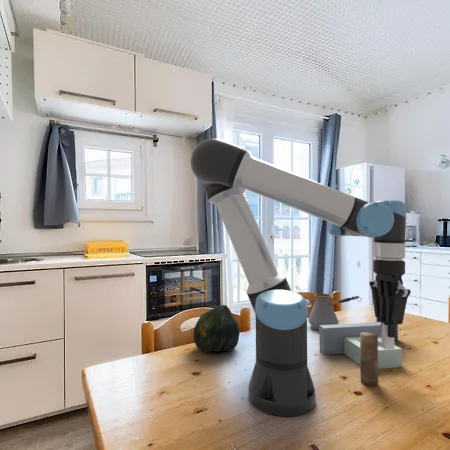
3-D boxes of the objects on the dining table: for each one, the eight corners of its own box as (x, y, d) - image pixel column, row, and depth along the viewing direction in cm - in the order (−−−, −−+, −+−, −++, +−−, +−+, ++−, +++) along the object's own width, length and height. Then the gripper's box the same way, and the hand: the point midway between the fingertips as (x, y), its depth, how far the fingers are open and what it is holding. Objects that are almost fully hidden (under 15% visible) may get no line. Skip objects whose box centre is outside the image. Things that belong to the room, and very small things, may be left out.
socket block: (365, 369, 84) (365, 351, 84) (344, 353, 95) (344, 337, 95) (402, 366, 85) (401, 348, 85) (376, 351, 96) (376, 335, 96)
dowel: (366, 387, 74) (366, 337, 74) (357, 379, 78) (356, 332, 78) (381, 386, 75) (381, 337, 75) (371, 378, 79) (371, 331, 79)
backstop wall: (324, 354, 94) (323, 328, 94) (319, 350, 97) (319, 325, 97) (394, 349, 98) (394, 324, 98) (388, 346, 101) (387, 321, 101)
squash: (181, 329, 102) (199, 300, 95) (215, 322, 111) (235, 295, 104) (198, 369, 93) (220, 340, 86) (234, 357, 103) (257, 331, 96)
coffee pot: (301, 326, 121) (301, 289, 121) (320, 321, 128) (319, 285, 128) (351, 342, 104) (351, 298, 104) (369, 335, 110) (369, 294, 111)
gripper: (420, 261, 75) (419, 357, 75) (384, 256, 88) (383, 338, 88) (393, 261, 74) (392, 359, 74) (361, 256, 87) (360, 339, 87)
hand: (387, 348), depth 81 cm, fingers closed
